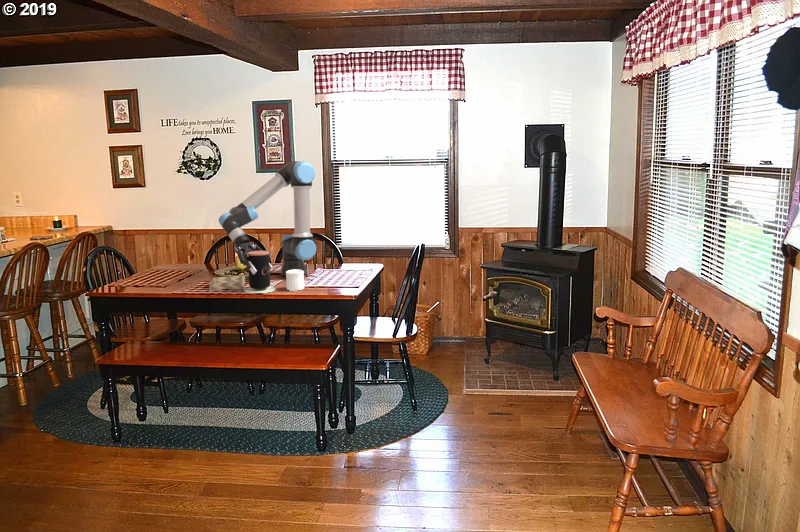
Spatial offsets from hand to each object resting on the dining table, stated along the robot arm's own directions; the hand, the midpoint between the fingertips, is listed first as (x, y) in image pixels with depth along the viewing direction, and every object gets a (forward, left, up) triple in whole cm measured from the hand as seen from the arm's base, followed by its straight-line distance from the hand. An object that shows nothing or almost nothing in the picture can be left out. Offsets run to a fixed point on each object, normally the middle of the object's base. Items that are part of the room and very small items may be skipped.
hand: (263, 270), depth 334 cm
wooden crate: (+20, -16, -10) cm, 28 cm away
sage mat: (+2, -2, -10) cm, 11 cm away
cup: (-16, -1, -11) cm, 19 cm away
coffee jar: (+2, -2, -9) cm, 9 cm away
